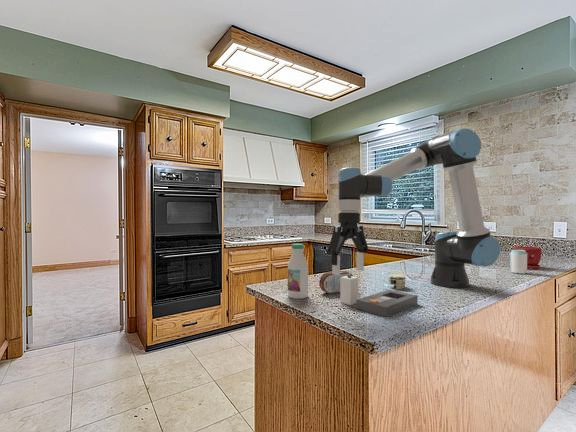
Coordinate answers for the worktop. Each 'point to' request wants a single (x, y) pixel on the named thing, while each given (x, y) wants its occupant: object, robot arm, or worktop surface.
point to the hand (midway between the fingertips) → (348, 272)
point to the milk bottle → (297, 273)
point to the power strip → (387, 302)
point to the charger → (348, 289)
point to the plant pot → (531, 261)
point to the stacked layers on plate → (397, 281)
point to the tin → (331, 282)
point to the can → (518, 261)
